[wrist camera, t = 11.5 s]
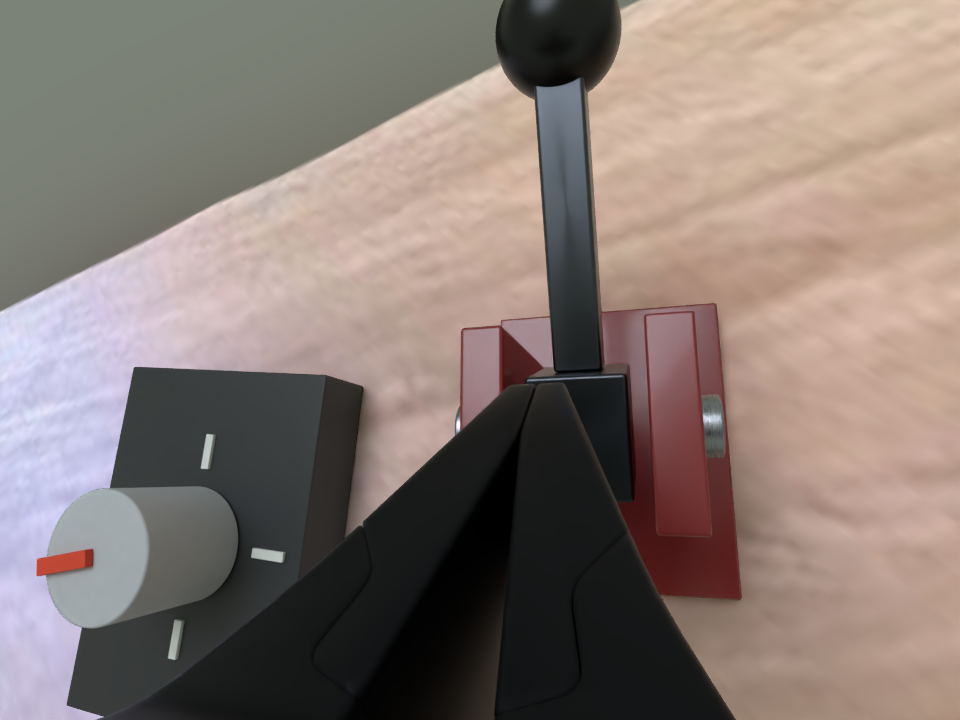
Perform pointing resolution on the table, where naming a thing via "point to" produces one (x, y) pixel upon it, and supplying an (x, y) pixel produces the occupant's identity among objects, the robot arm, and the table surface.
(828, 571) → the table surface
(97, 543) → the browning dial
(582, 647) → the robot arm
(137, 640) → the control panel
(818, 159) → the table surface
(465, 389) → the red lever stand
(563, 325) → the black lever handle
